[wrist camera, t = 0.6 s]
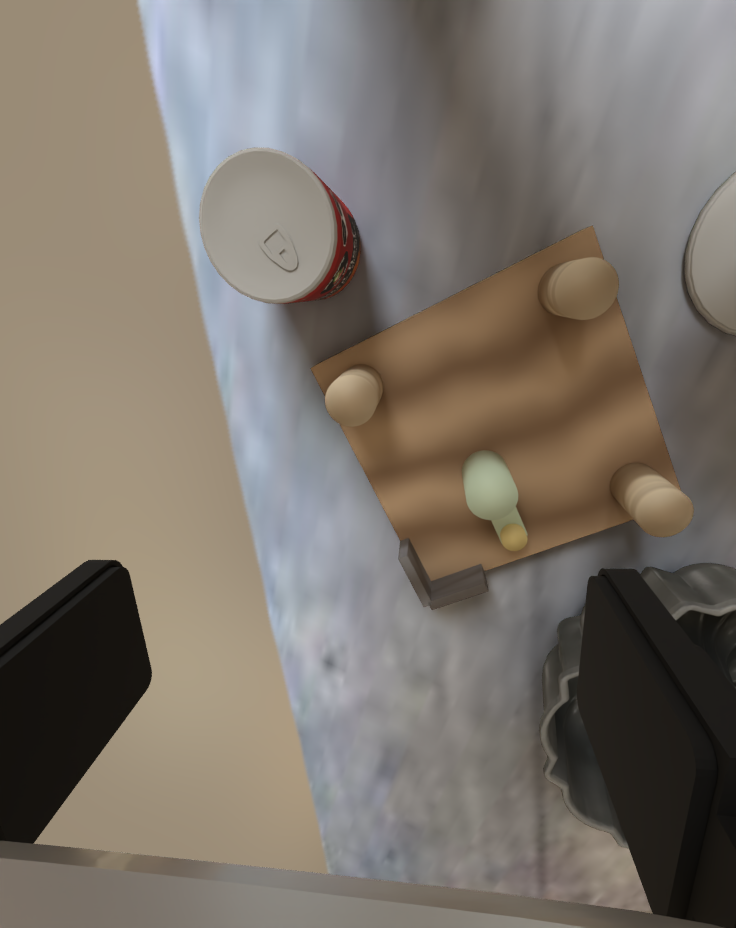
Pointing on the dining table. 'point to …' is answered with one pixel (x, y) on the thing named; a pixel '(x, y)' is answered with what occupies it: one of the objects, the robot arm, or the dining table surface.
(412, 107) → the dining table surface
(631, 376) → the stool board
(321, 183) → the canned food
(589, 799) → the bundt pan
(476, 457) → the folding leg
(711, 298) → the chalice
